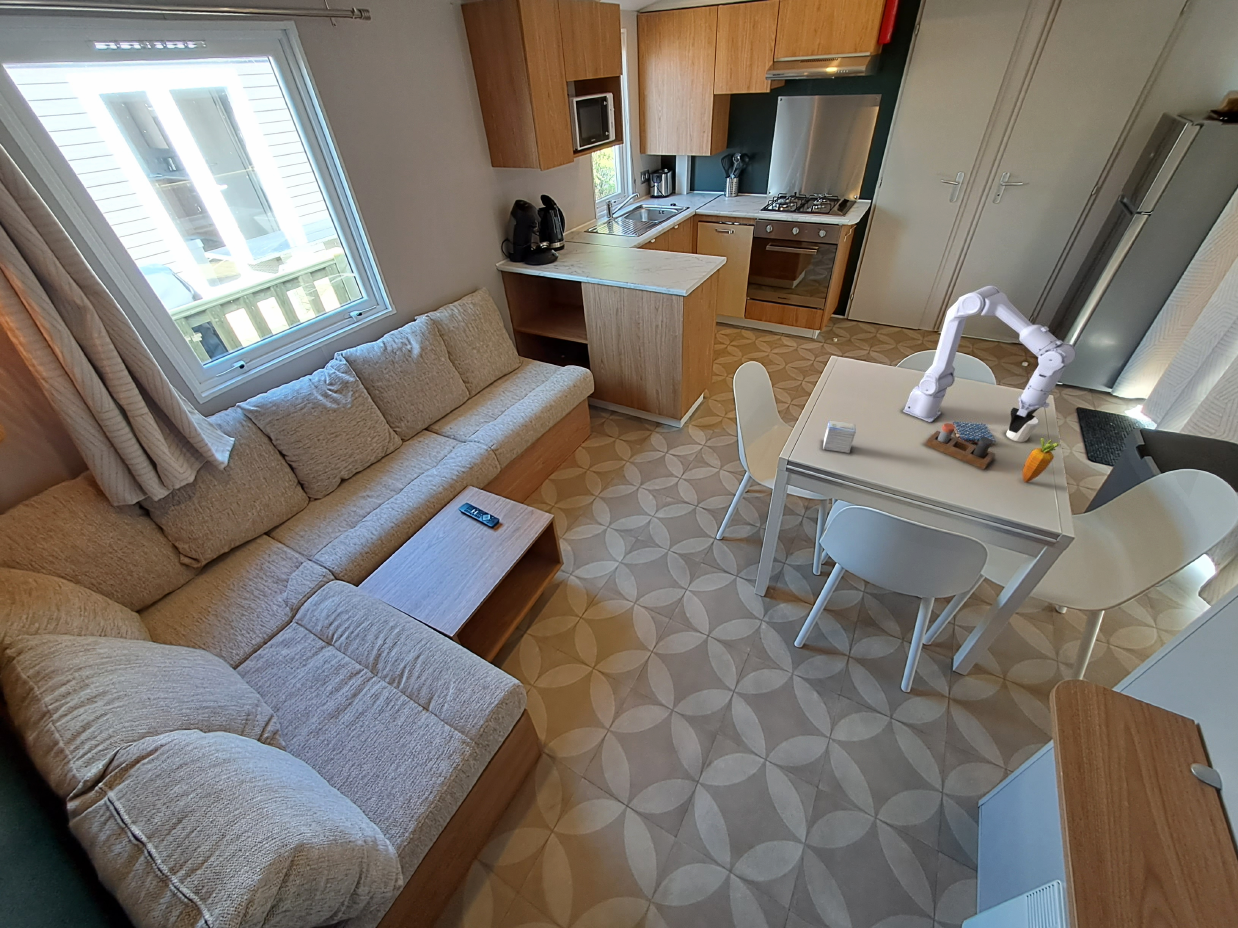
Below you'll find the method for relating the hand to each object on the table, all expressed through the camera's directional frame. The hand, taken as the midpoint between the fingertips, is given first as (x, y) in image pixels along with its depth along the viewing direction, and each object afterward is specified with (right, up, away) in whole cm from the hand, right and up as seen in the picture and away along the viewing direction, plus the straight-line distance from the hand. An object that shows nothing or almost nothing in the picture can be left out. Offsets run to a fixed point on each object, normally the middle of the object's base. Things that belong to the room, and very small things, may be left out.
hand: (1017, 425), depth 146 cm
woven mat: (-4, -2, +14) cm, 15 cm away
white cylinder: (+10, -3, +12) cm, 16 cm away
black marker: (-9, -10, +5) cm, 14 cm away
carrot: (-1, -17, -4) cm, 17 cm away
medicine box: (-49, -6, +13) cm, 51 cm away
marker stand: (-12, -8, +8) cm, 16 cm away
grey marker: (-16, -5, +11) cm, 20 cm away
